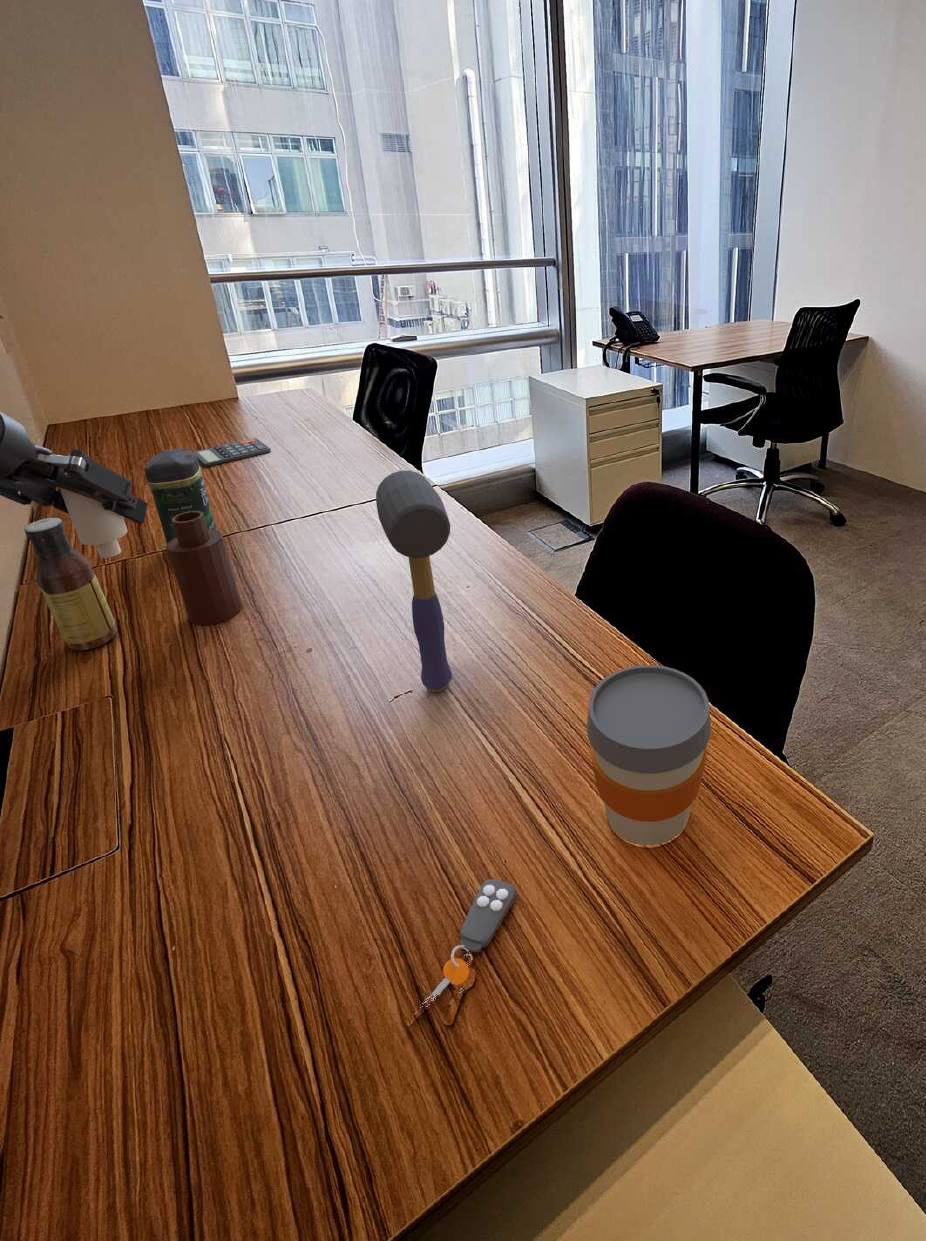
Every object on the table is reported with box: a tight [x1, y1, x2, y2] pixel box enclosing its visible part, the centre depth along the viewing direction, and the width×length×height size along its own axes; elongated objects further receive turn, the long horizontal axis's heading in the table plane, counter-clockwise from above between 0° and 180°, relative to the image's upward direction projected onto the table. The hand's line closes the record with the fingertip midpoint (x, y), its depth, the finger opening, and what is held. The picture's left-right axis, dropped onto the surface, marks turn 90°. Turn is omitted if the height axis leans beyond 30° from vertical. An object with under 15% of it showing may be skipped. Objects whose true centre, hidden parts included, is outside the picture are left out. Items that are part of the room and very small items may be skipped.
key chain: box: [414, 878, 517, 1014], centre depth 59 cm, size 13×4×2 cm, turn 163°
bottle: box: [165, 511, 243, 626], centre depth 104 cm, size 7×7×17 cm
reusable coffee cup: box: [586, 664, 712, 845], centre depth 70 cm, size 13×13×15 cm
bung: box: [60, 488, 128, 559], centre depth 83 cm, size 5×5×10 cm
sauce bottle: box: [24, 517, 118, 651], centre depth 97 cm, size 7×6×20 cm
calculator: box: [192, 437, 272, 468], centre depth 172 cm, size 12×1×15 cm
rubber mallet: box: [375, 470, 453, 693], centre depth 86 cm, size 12×8×30 cm, turn 27°
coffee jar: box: [143, 448, 219, 544], centre depth 124 cm, size 10×8×19 cm
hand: (120, 513), depth 87 cm, fingers closed on bung, 5 cm apart
